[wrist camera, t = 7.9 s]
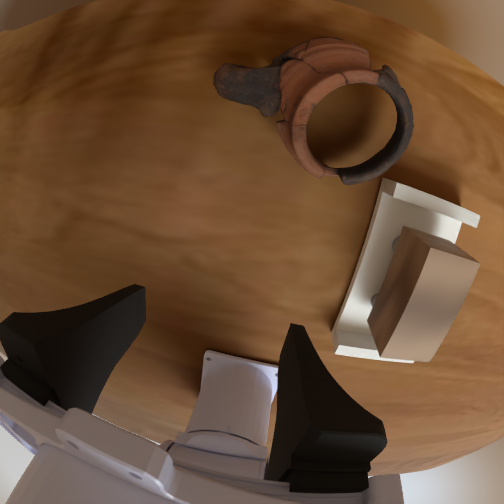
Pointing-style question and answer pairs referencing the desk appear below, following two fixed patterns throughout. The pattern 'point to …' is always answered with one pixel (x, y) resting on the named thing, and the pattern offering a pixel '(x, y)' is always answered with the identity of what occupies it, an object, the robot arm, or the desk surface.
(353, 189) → the desk surface
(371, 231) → the peg stand
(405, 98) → the pottery mug
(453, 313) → the tan rectangular block
